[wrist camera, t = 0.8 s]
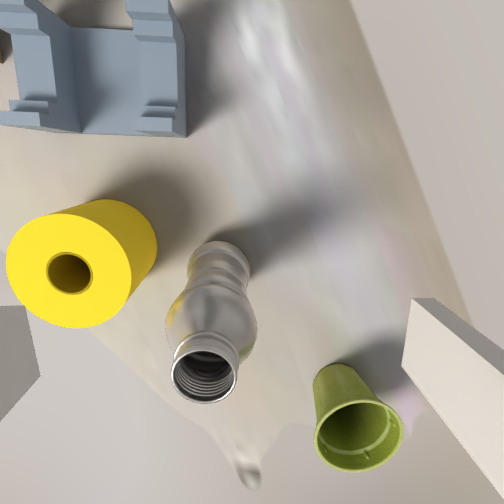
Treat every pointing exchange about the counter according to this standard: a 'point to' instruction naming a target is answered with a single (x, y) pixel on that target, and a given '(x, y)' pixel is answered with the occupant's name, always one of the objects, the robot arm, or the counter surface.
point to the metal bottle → (211, 324)
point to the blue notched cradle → (97, 72)
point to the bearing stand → (0, 59)
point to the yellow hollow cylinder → (81, 262)
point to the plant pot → (352, 422)
